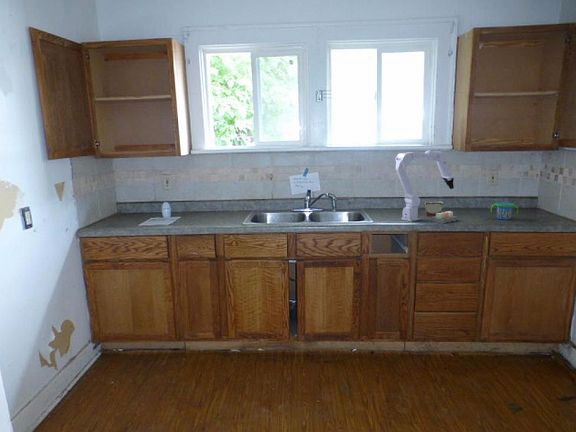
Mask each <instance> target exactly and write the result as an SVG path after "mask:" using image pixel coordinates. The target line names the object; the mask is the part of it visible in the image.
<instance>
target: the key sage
mask: <svg viewBox="0 0 576 432" xmlns="http://www.w3.org/2000/svg"><path fill="white" fill-rule="evenodd" d="M436 218H439V219H442V218H444V214H443V213H436Z"/></svg>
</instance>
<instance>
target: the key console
mask: <svg viewBox="0 0 576 432" xmlns="http://www.w3.org/2000/svg"><path fill="white" fill-rule="evenodd" d="M458 218H459V217H458V216H456V215H455V216H454V215H453V216H452V217H447V218H442V219H439V218H436V216H435V217H430V222H433V223H438V222H439V224H447V222H448V223H452V222H451V221H453V222H457V221H458ZM456 220H457V221H456Z"/></svg>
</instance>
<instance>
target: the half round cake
mask: <svg viewBox="0 0 576 432" xmlns="http://www.w3.org/2000/svg"><path fill="white" fill-rule="evenodd" d="M424 206H425V217H429V218H431V217H435V216H436V213H441V212H443V211H442V210H443V206H444V202H443V201H440V200H425V202H424Z"/></svg>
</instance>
